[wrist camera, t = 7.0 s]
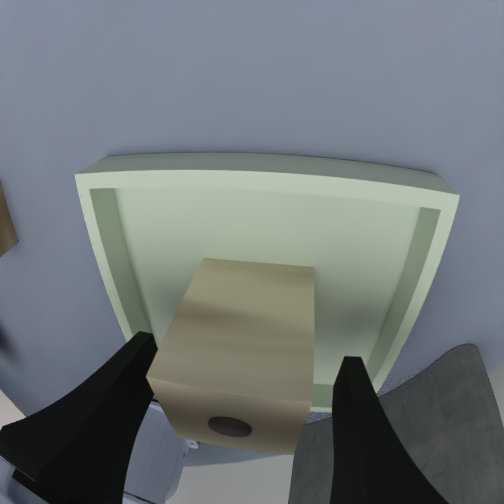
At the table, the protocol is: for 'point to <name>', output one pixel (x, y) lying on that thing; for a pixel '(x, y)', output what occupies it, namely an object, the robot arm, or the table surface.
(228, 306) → the birch block
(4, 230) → the oak block
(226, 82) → the table surface
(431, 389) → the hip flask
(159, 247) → the tray
